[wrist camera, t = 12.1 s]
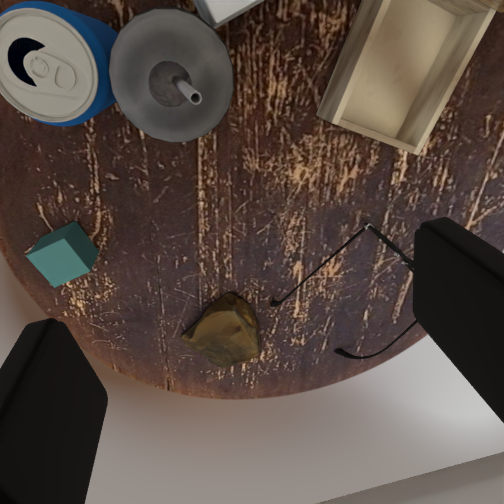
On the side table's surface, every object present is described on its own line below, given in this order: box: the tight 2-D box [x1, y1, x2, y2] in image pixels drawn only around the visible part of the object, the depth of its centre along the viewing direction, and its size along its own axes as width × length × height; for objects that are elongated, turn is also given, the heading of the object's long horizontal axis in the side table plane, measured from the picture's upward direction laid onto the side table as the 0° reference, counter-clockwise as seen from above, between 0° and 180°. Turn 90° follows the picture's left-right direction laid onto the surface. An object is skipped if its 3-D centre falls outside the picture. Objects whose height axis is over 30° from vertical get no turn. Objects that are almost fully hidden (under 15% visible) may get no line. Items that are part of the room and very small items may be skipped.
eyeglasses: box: [271, 223, 418, 359], centre depth 44 cm, size 16×16×4 cm
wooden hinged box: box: [316, 0, 496, 155], centre depth 32 cm, size 12×9×5 cm
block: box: [26, 221, 99, 288], centre depth 36 cm, size 4×4×4 cm
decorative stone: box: [180, 293, 261, 368], centre depth 44 cm, size 10×9×4 cm
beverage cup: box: [109, 7, 234, 142], centre depth 23 cm, size 7×7×20 cm
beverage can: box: [0, 1, 118, 126], centre depth 25 cm, size 6×6×12 cm
